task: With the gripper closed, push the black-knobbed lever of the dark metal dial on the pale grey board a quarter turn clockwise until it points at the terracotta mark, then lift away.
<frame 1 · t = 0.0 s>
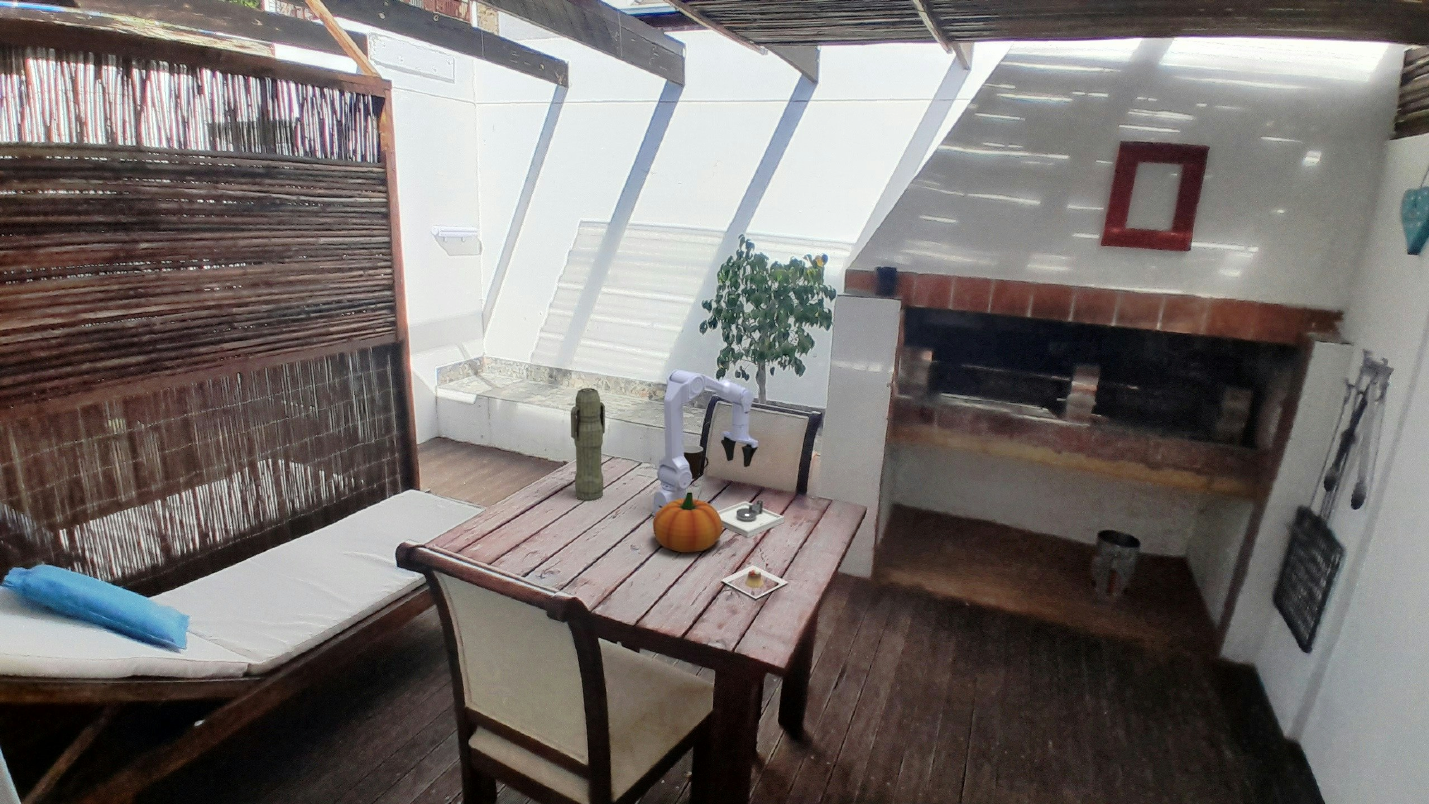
hand: (738, 463, 235), 10 cm above the table, fingers open, 7 cm apart
board: (746, 521, 215), on the table
pumpkin: (687, 543, 200), on the table
coffee mug: (691, 477, 250), on the table
green carved statue: (589, 496, 231), on the table
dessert: (754, 585, 179), on the table
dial: (750, 509, 215), point 3 cm above the table, hinge at 0.0°
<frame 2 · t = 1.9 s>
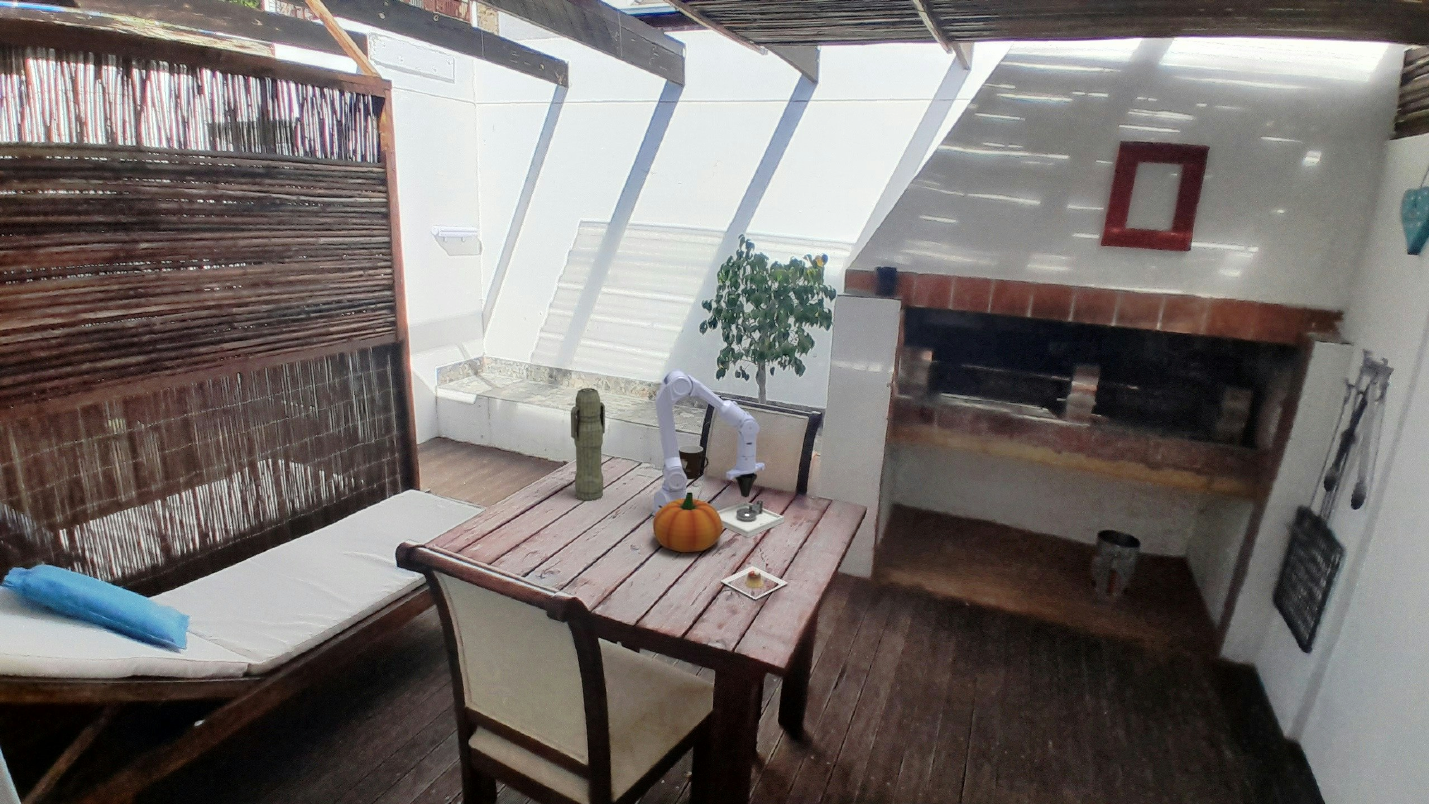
hand: (744, 496, 221), 5 cm above the table, fingers closed
nothing on the table moved.
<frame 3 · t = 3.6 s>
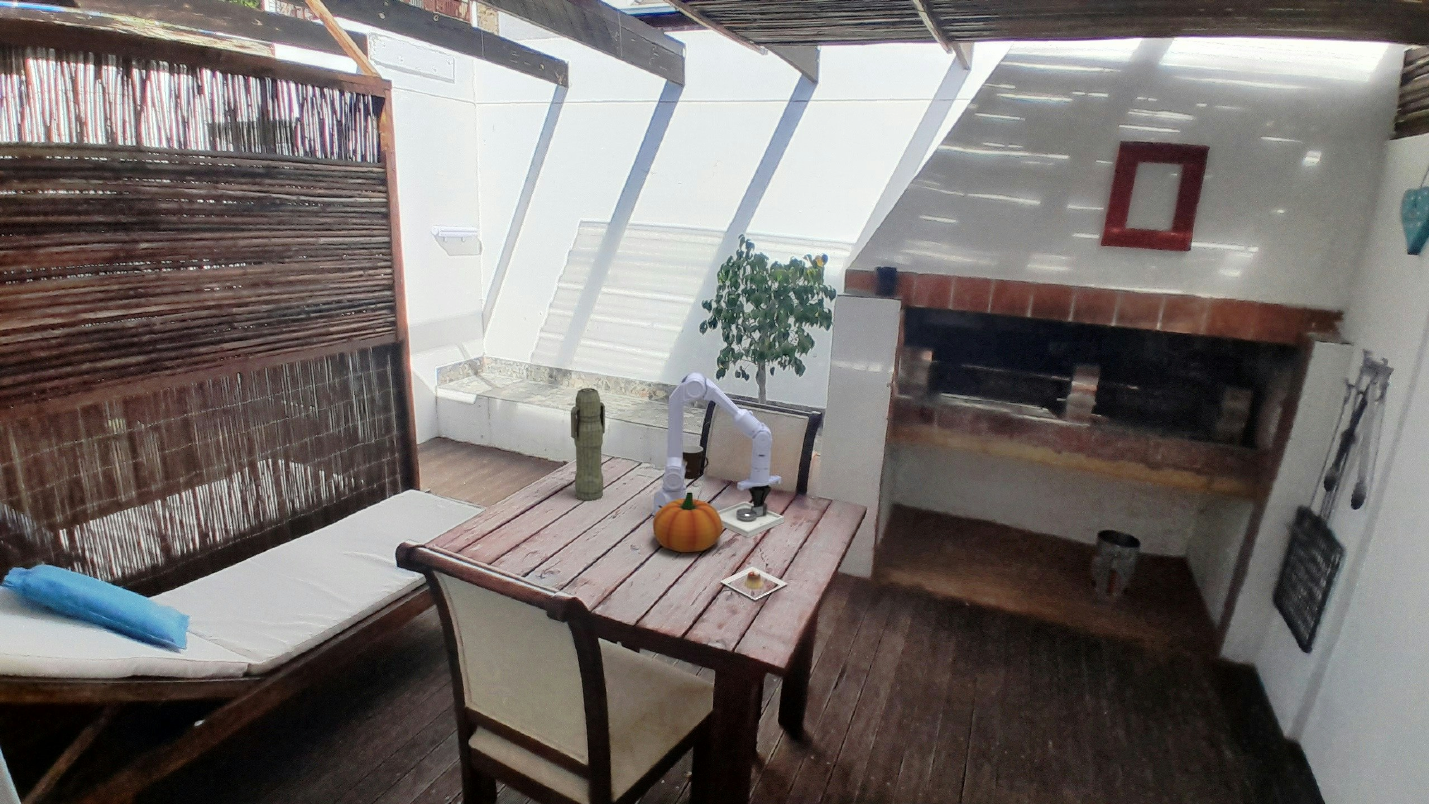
hand: (758, 508, 218), 3 cm above the table, fingers closed, pressing on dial
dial: (752, 510, 215), point 3 cm above the table, hinge at -21.8°, touching gripper
everything else where it was.
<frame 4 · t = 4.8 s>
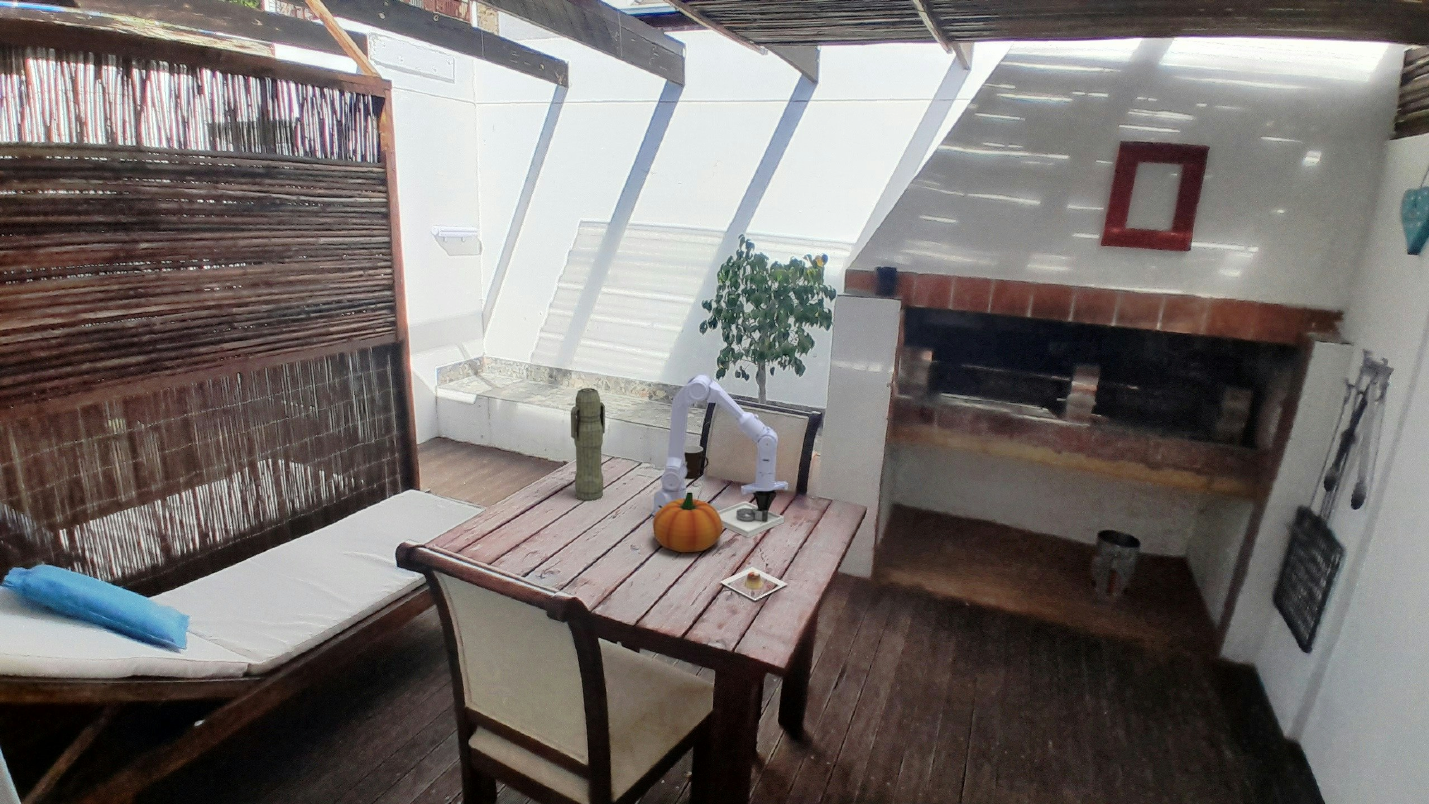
hand: (762, 513, 214), 3 cm above the table, fingers closed
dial: (752, 512, 213), point 3 cm above the table, hinge at -68.3°, touching gripper
everything else where it was.
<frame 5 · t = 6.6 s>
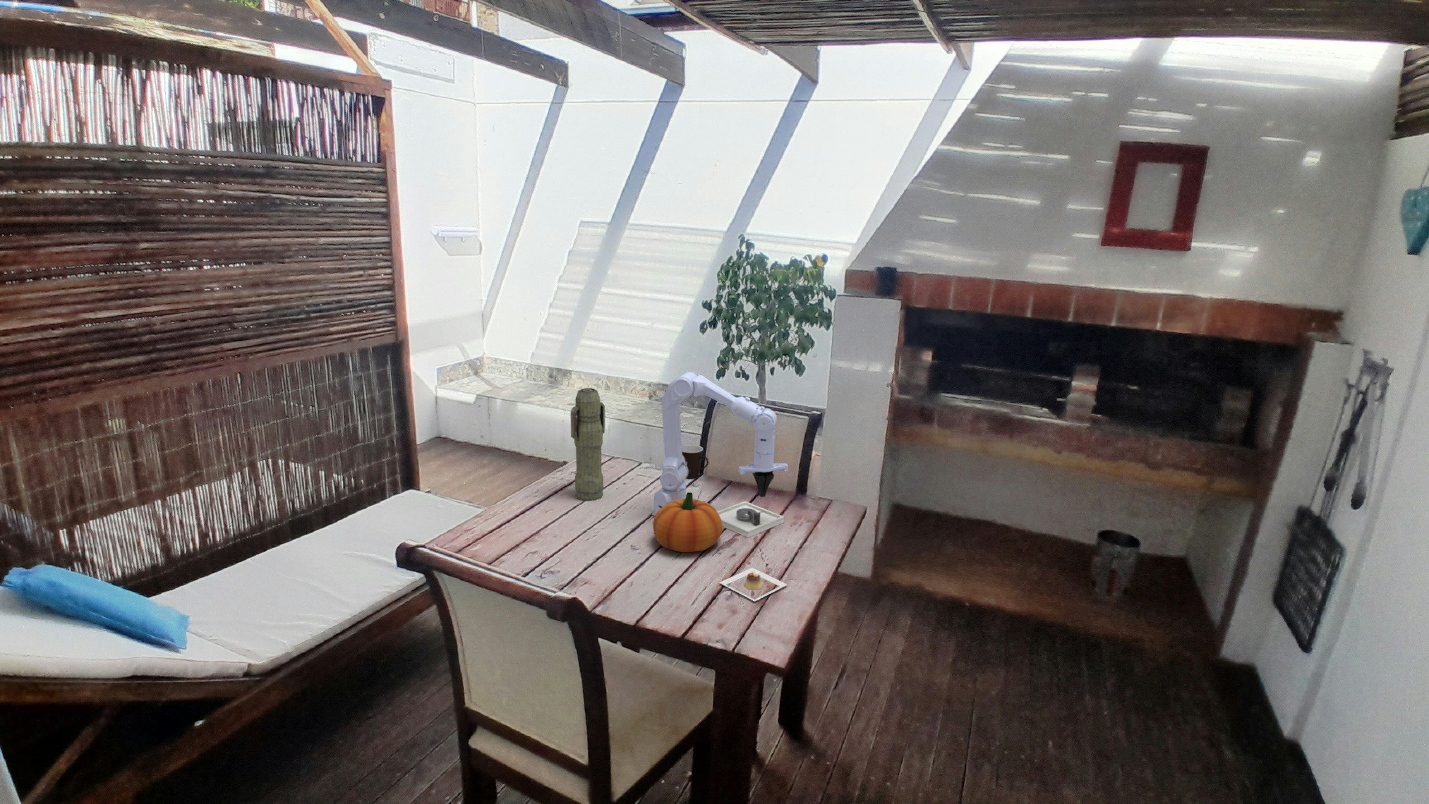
hand: (761, 495, 210), 9 cm above the table, fingers closed
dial: (749, 513, 212), point 3 cm above the table, hinge at -105.8°
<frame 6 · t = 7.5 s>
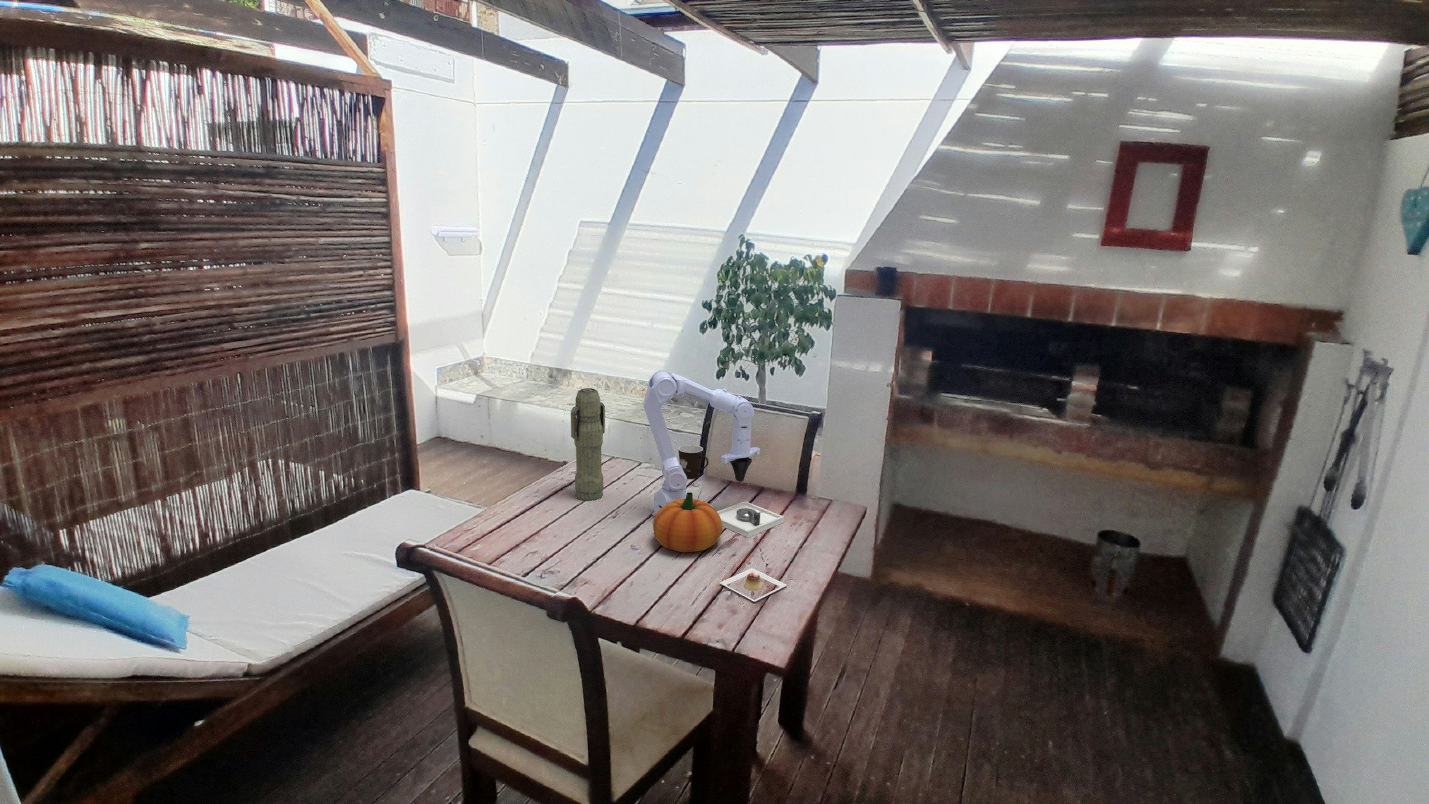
hand: (739, 480, 220), 10 cm above the table, fingers closed
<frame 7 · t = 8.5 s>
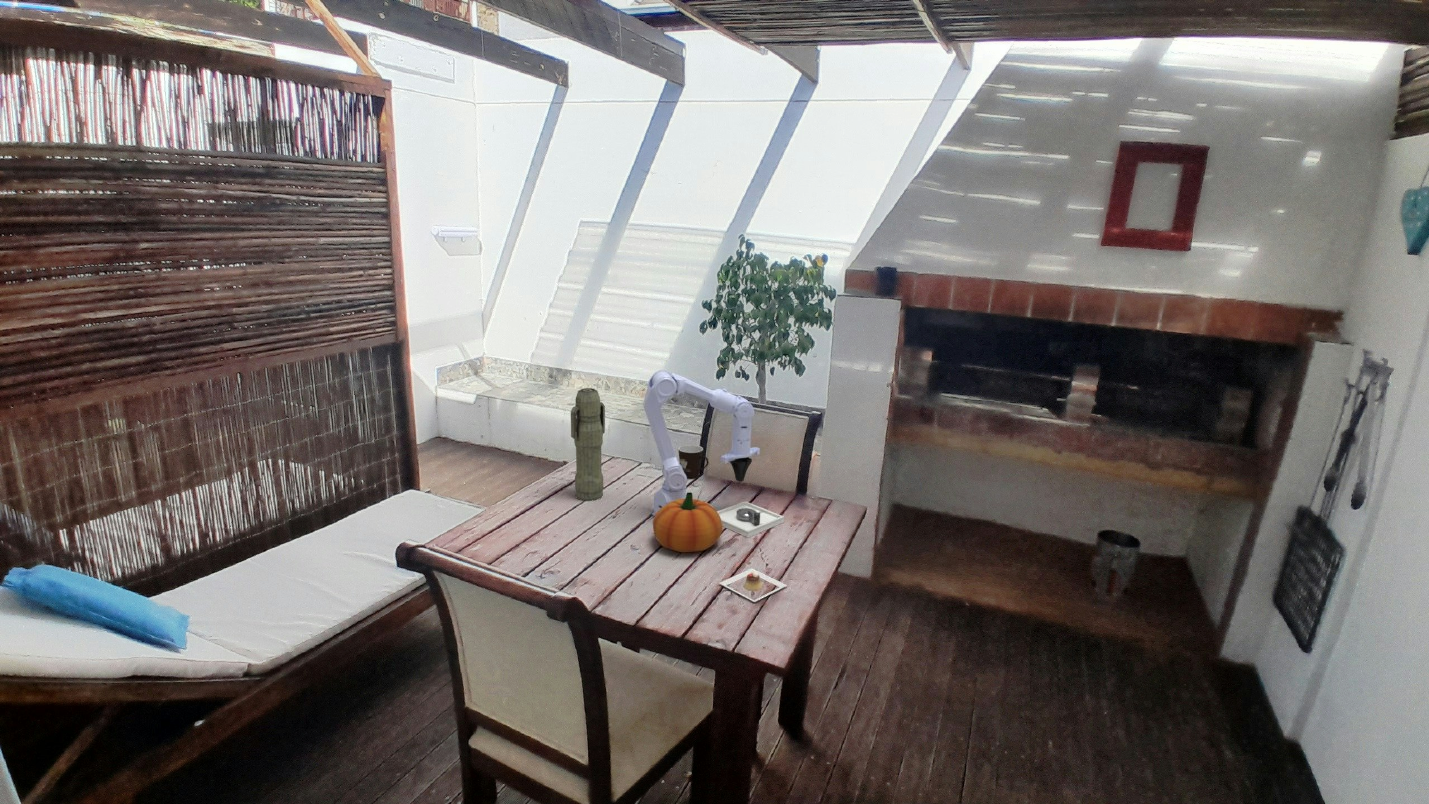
hand: (739, 480, 220), 10 cm above the table, fingers closed
at the end: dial at -106° (first picture: +0°); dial touching nothing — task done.
